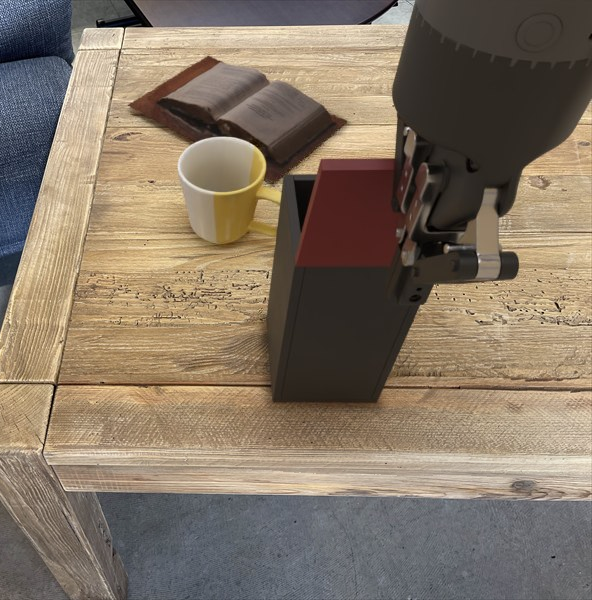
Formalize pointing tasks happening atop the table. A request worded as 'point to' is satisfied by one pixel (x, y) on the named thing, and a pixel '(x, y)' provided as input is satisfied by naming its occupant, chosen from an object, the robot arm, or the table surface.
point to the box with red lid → (327, 319)
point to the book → (241, 111)
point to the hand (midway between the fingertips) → (403, 294)
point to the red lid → (350, 215)
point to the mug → (224, 188)
